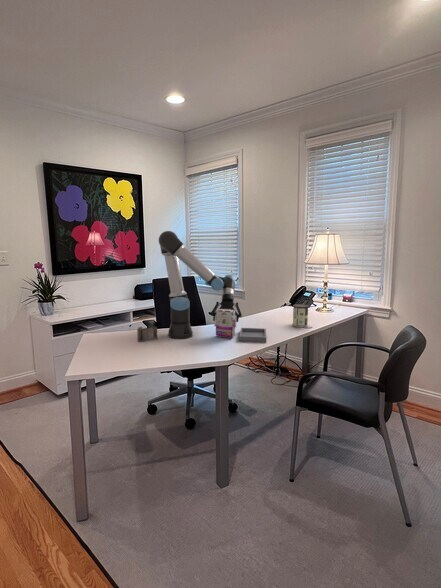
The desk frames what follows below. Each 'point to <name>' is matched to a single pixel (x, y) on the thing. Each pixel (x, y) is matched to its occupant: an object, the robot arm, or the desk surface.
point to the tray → (252, 335)
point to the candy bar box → (225, 323)
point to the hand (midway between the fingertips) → (225, 325)
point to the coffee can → (300, 315)
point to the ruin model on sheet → (147, 334)
